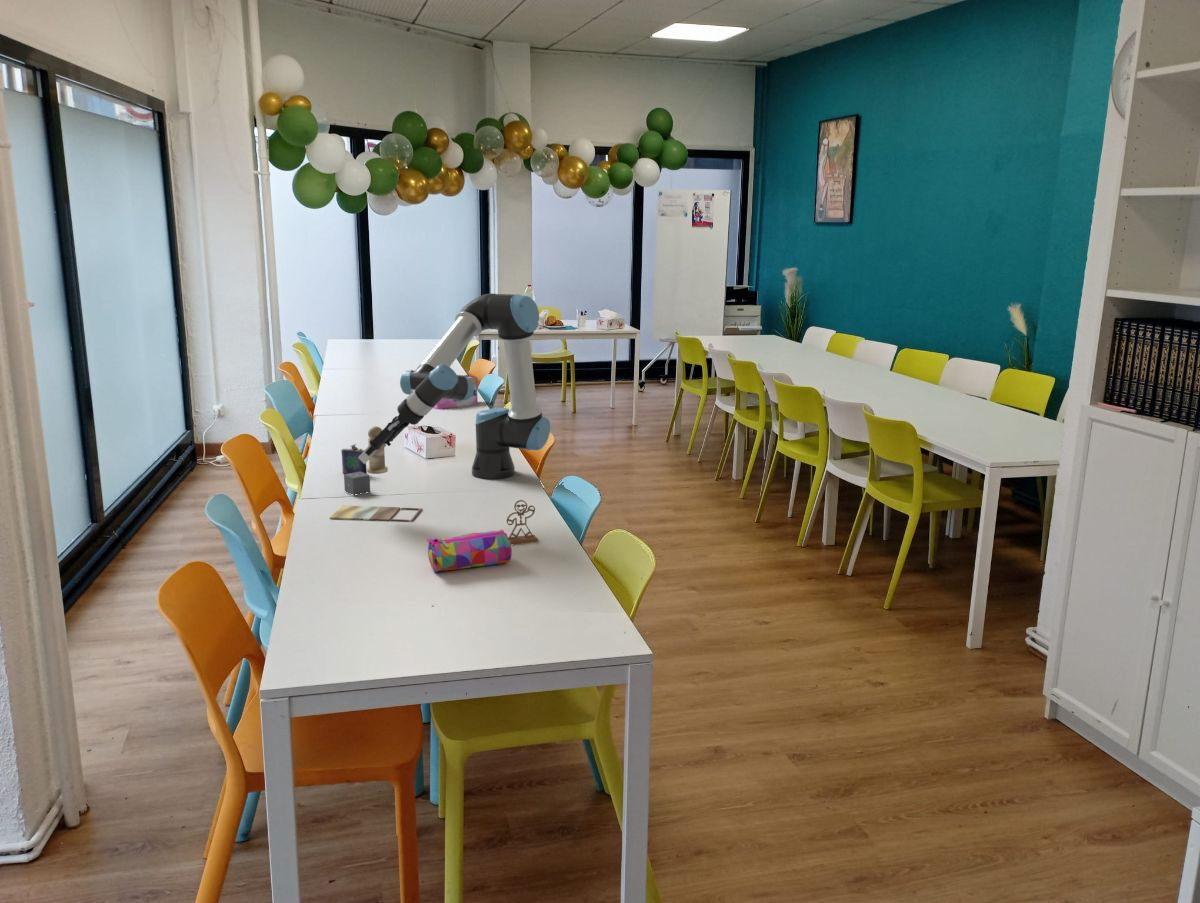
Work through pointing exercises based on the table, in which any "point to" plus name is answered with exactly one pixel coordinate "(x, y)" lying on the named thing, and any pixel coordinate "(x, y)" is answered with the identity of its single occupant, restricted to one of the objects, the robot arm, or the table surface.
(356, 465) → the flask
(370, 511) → the board
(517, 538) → the gingerbread man figurine
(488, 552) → the pencil case
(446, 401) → the gum box
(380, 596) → the table surface
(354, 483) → the die
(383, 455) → the pawn
